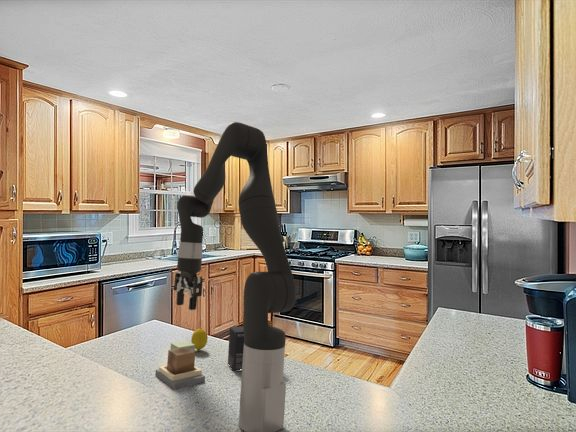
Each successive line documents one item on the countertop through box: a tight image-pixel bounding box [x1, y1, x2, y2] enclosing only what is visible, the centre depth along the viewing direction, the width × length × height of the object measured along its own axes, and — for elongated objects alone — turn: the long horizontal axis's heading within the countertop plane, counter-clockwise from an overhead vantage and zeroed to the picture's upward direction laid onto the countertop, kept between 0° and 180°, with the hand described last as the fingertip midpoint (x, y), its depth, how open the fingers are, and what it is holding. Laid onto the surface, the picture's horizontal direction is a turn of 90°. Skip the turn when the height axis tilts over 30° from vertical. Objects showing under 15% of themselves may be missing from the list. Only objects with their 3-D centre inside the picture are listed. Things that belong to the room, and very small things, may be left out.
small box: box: [227, 326, 244, 372], centre depth 113 cm, size 13×7×12 cm, turn 115°
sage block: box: [169, 340, 196, 353], centre depth 112 cm, size 6×6×6 cm
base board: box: [155, 364, 206, 390], centre depth 100 cm, size 12×9×3 cm
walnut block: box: [166, 347, 196, 375], centre depth 100 cm, size 6×6×6 cm
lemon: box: [190, 327, 208, 351], centre depth 125 cm, size 6×6×8 cm
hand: (185, 307), depth 113 cm, fingers open, 8 cm apart
